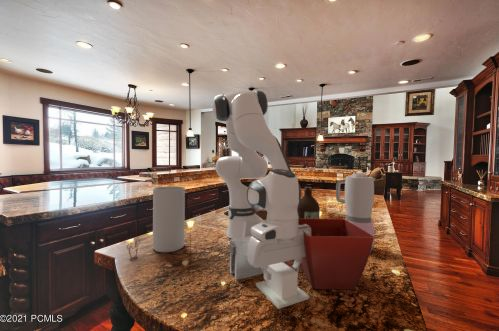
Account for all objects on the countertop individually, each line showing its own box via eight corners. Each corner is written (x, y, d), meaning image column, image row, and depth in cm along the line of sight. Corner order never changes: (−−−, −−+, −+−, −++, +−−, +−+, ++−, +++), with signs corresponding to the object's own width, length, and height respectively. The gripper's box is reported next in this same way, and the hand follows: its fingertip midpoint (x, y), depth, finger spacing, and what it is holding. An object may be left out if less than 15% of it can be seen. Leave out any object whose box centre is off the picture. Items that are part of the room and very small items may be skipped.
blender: (376, 247, 101) (378, 173, 101) (372, 256, 91) (374, 175, 91) (338, 239, 110) (340, 172, 110) (331, 247, 101) (332, 173, 100)
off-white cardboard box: (280, 280, 71) (280, 260, 71) (297, 294, 64) (297, 272, 63) (266, 284, 68) (266, 264, 68) (281, 298, 61) (282, 276, 61)
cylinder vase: (174, 254, 91) (175, 190, 90) (146, 251, 93) (146, 189, 93) (189, 243, 103) (189, 187, 102) (163, 241, 106) (164, 186, 105)
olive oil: (291, 237, 113) (292, 186, 112) (312, 236, 115) (313, 185, 114) (301, 245, 102) (302, 188, 102) (323, 243, 105) (324, 188, 104)
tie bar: (262, 246, 80) (262, 239, 80) (265, 248, 78) (265, 241, 78) (229, 252, 75) (229, 244, 75) (232, 254, 73) (232, 247, 73)
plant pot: (374, 296, 64) (375, 236, 64) (305, 296, 64) (306, 235, 63) (344, 265, 84) (345, 218, 83) (291, 265, 83) (292, 218, 83)
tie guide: (256, 266, 81) (257, 235, 81) (264, 273, 77) (264, 239, 76) (229, 272, 77) (230, 239, 77) (236, 280, 72) (236, 244, 72)
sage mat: (283, 278, 74) (283, 275, 74) (309, 298, 63) (309, 295, 63) (255, 285, 69) (255, 282, 69) (278, 309, 58) (278, 305, 58)
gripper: (304, 220, 73) (303, 264, 73) (245, 228, 64) (244, 278, 64) (318, 226, 67) (317, 273, 68) (256, 235, 58) (255, 289, 59)
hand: (281, 275), depth 66 cm, fingers open, 8 cm apart
